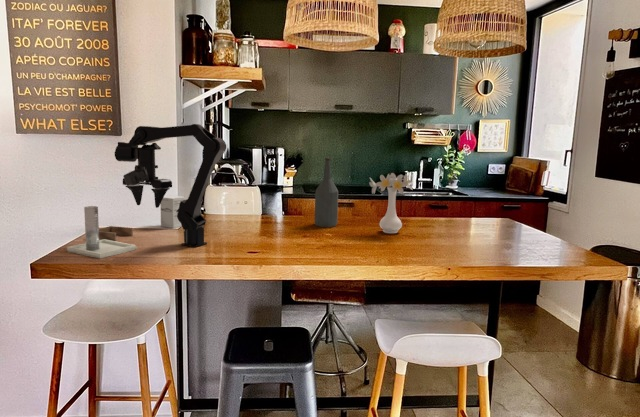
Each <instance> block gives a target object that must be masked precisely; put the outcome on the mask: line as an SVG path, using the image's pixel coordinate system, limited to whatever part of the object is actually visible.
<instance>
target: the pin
mask: <svg viewBox="0 0 640 417" xmlns="http://www.w3.org/2000/svg"><path fill="white" fill-rule="evenodd" d="M83 208H84V209H83V210H84V212H83V213H84V229H85V230H84V232H85V243H86V250H89V251H93V250H98V249H100V246H99V229H100V226H99V206H96V205H90V206H88V205H87V206H84V207H83Z"/></svg>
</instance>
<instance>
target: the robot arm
mask: <svg viewBox="0 0 640 417" xmlns="http://www.w3.org/2000/svg"><path fill="white" fill-rule="evenodd" d="M133 133H134V134H133V135H132V137H131V139H130V140H129V141H128V142H124V141H118V142H117V146H116V147H115V151H114V158H115V160H116V161H117V162H126V163H127V162H129V163H135V162H136V161H137V165H136V164H135V166H134V170H131V171H129V172H127V173H125V174H124V175H123V178H122V186H124V187H125V188H126V189H128V190H129V191H131V194H132V196H133V199H134V201H135V203H136V206H140V205H141V204H142V197H143V192H144V186H151V187H152V188H150V190H151V191H152V193H154V197H153V198H154V207H155V208H156V209H158V208H159V207H161V201H162V199H163V197H164V196H165V195H166V194H167V192H168V191H169V190H170V189H171V188H173V182H172V180H171V179H168V178H159V176H156V169H158V168H159V165H156V151H159V150H161V149H162V147H161V146H159V145H158V144H157V142H158V141H161V140H164V139H169V138H170V139H173V138H182V137H183V138H184V137H193V138H195V140H196V141H197V142H198V143H199V144H200V145H201V147H202V148H203V149H202V161H201V163H200V167H199V169H198V171H197V174H196V177H195V180H194V182H193V185H192V188H191V191H190V192H189V195H188V197H187V199H186V198H185V200H183V201H181V202H180V205H179V208H178V210H177V211H176V212H178V214H177V218H178V220H179V222H180V223H181V225H182V227H181V228H182V229H183V230H184V231H183V242H181V246H187V247H192V248H197V247H200V246H204V245H207V244H208V242H207V241H205V228H204V227H205V226H206V223H207V219H205V217H203V216H204V215H202V214H201V210H202V199H203V197H204V194H205V192H206V189H207V188H208V187H207V186H208V184H209V181H210V179H211V177H212V174H213V171H214V169H215V167H216V164H217V163H218V162H219V161H220V160H221V159H222V157H223V155H224V154H225V152H226V150H227V144H226V141H225V140H224V139H222V138H220V137H217V136H216V135H215V134H213V133H212V132H211V131H209V130H208V129H206V128H205V126H203V125H202V124H200V123H199V124H196V123H193V124H189V125H188V124H187V125H179V126H178V125H175V126H165V127H159V126H149V125H148V126H146V125H145V126H144V125H139V126H137V127H136V129H135V130H134V132H133ZM149 143H150V144H149ZM139 146H141V147H139Z"/></svg>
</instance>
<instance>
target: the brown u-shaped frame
mask: <svg viewBox="0 0 640 417" xmlns="http://www.w3.org/2000/svg"><path fill="white" fill-rule="evenodd" d="M117 235H118V236H127V237H128V236H129V237H133V236H134V227H128V226H127V227H126V226H115V225H109V226H106V227H101V228H99V240H102V239H106V240H111V241H117Z"/></svg>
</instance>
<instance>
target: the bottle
mask: <svg viewBox="0 0 640 417" xmlns="http://www.w3.org/2000/svg"><path fill="white" fill-rule="evenodd" d="M323 169H324V171H323V176H322V177H323V178H322V180H321V182H320V184H318V186H317V188H316V189H315V192H314V193H315V195H314V225H315V226H316V227H320V228H335V227H336V226H337V225H338V212H339V211H338V210H339V190H338V188H337V186H336V185H335V183H334V181H333V180H332V169H331V157H325V159H324V168H323Z"/></svg>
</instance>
